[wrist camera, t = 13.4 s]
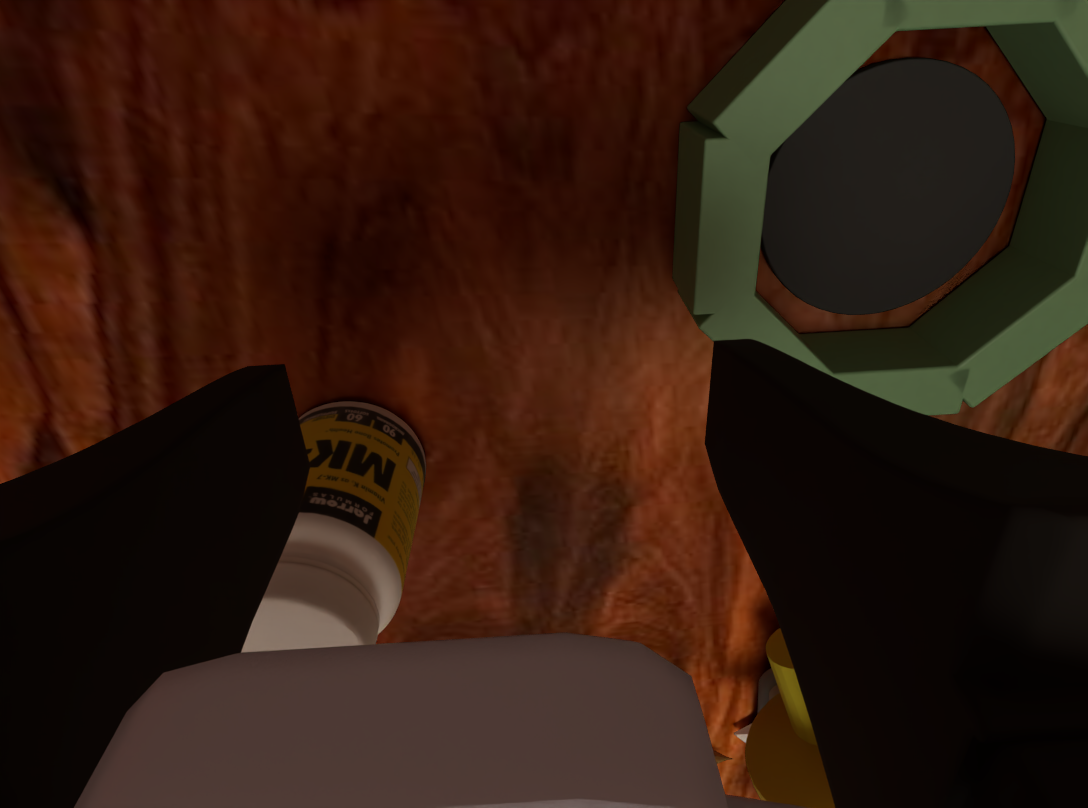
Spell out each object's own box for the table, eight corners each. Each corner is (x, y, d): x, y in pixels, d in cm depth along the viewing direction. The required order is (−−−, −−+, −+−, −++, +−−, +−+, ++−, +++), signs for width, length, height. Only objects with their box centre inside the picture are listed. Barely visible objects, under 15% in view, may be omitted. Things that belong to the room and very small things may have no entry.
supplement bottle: (424, 397, 22) (381, 587, 15) (430, 513, 25) (395, 726, 17) (273, 394, 22) (153, 586, 15) (293, 511, 24) (198, 727, 17)
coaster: (849, 352, 22) (854, 358, 22) (705, 205, 19) (709, 208, 19) (1052, 185, 20) (1061, 188, 19) (918, -8, 17) (927, -8, 17)
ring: (832, 437, 24) (869, 485, 21) (590, 210, 19) (601, 238, 17) (1165, 177, 20) (1257, 200, 17) (950, -179, 15) (1032, -215, 13)
